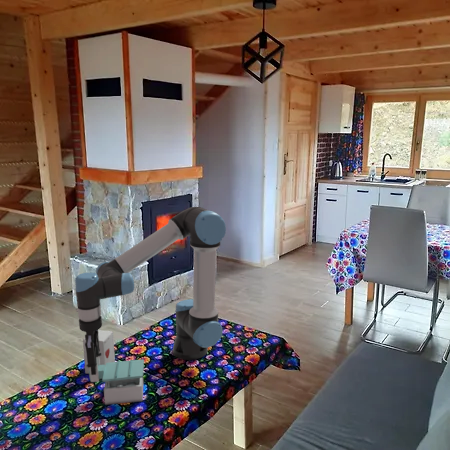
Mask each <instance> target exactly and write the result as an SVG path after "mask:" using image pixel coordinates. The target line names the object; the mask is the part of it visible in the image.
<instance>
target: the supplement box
mask: <svg viewBox="0 0 450 450" xmlns="http://www.w3.org/2000/svg"><path fill="white" fill-rule="evenodd" d="M98 337H99V348H100V352H99V353H101V356H98V357H99V359H100V365H105V366H106V363H111V362H116V355H115V341H114V331H111V330H101V329H98ZM85 343H86V340H85V337H84V338H83V339H82V345H83V359H84V371H85V372H84V373H85V374H87V375H89V370H90V368H88V367H87V364H88V362H87V353H86V347H85Z"/></svg>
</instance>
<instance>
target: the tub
mask: <svg viewBox="0 0 450 450" xmlns="http://www.w3.org/2000/svg"><path fill="white" fill-rule="evenodd" d="M103 395H104V405H105V406H107V405H115V404H126V403H134V402H135V403H136V402H143V399H144V377H143V378H134V379H125V380H115V381H105V382H104V386H103Z"/></svg>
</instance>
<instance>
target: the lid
mask: <svg viewBox="0 0 450 450" xmlns="http://www.w3.org/2000/svg"><path fill="white" fill-rule="evenodd" d="M144 364H145V359H130V360H123V361H119V360H117V361H115V362H111V363H106V366H105V365H98V374H99V380H101V379H102V382H103V383H105V382H106V381H115V380H125V379H134V378H143V379H144V366H145V365H144ZM88 375H89V380H90V381H91V378H90V370H89V374H88Z"/></svg>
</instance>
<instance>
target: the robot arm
mask: <svg viewBox="0 0 450 450" xmlns="http://www.w3.org/2000/svg"><path fill="white" fill-rule="evenodd" d="M226 231H227V226H226V222H225V220H224V218H223V217H222V216H221V215H219V214H218V213H217V212H215V211H213V210H209V209H206V208H204V207H201V206H192V207H188V208H186V209H184V210H182V211H181V212H179V213H177V214H176V215H175V216H172V218H171V217H170V219H168V223H166V224H165V225H164V226H162V227H161V228H159V229H158V230H156V231H154V232H153V233H152V234H150V235H148V236H147V237H146V238H144V239H143V240H141V241H140V242H138V243H137V244H135V245H134V246H132V247H131V248H129V249H126V251H124V252H123V253H121V254H120V255H118V256H117V257H115V258H114V259H112V260H111V261H105V262H101V263H100V264H98V265H97V267H96V269H95V272H83V273H80V274H78V275H77V276H76V277H75V279H74V282H75V283H74V284H75V288H74V289H75V296H76V305H77V309H75V312H76V313H78V326H79V330H81V332H84V333H85V334H84V338H85V340H86V343H85V347H86V353H87V362H88V364H87V367H88V368H90V377H89V379H90V378H91V380H90V382H91V383H95V382H100V379H99V374H98V365H100V359H99V357H98V356H101V353H99V352H100V348H99V337H98V330H101V328H102V327H103V321H102V306H101V305H102V304H101V300H105V299H110V298H114V297H119V296H120V297H121V296H126V295H129V294H130V295H131V294H132V293H133V292H134V290H135V282H134V281H135V280H134V277H133V274H132V273H131V272H133V270H135V269H136V268H138V267H140V266H141V265H142V264H144V263H146V262H147V261H149V260H150V259H151V258H153V257H155V256H156V255H157V254H159V253H161V251H163V250H165V249H166V248H168V247H169V246H171V245H173V243H175V242H177V241H178V240H185V239H186V238H187V237H189V245H190V247H191V248H192V249H193V283H192V285H193V290H192V291H193V293H192V296H193V297H192V298H190V299H184V300H180V301H178V302H177V303H176V304H175V311H174V312H175V328H176V336H175V338H174V339H175V340H174V342H173V346H172V353H173V355H174V357H176V358H177V359H180V360H184V361H185V360H186V361H193V360H198V359H201V358H203V357H205V356H206V355H207V354H208V353H209V352H208V351H209V349H208V348H211V347H213V346H215V345H216V344H217V343H218V342H219V341H220V340H221V338H222V336H223V333H224V332H223V327H222V324H221V323H220V322H219V310H218V308H217V307H216V306H215V305H216V303H215V302H216V272H217V271H216V270H217V267H216V266H217V250H218V248H220V247H221V241H222V240H223V238H224V237H225V236H226Z"/></svg>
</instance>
